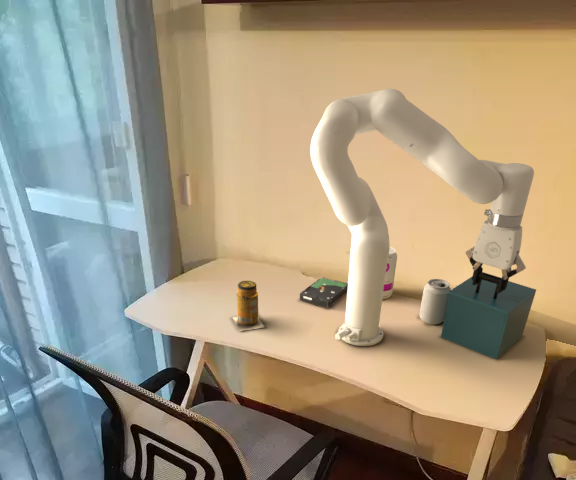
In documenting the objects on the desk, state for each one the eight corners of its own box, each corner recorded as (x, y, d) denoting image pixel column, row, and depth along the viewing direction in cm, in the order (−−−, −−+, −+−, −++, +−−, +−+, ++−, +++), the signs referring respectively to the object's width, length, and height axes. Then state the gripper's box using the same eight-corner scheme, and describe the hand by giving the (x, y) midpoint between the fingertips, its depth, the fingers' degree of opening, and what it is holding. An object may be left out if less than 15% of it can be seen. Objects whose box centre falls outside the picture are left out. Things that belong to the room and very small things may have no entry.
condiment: (256, 314, 162) (255, 277, 155) (264, 327, 156) (264, 289, 149) (232, 318, 160) (230, 280, 153) (240, 331, 154) (238, 293, 147)
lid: (508, 314, 135) (514, 290, 131) (448, 293, 144) (453, 270, 140) (535, 292, 146) (542, 269, 142) (478, 274, 155) (483, 252, 151)
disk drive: (328, 309, 166) (349, 290, 176) (329, 301, 164) (349, 283, 174) (299, 301, 170) (320, 283, 180) (299, 293, 168) (321, 275, 179)
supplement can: (385, 302, 170) (391, 257, 161) (361, 296, 173) (366, 251, 165) (395, 293, 175) (402, 248, 167) (372, 286, 179) (377, 243, 170)
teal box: (496, 359, 144) (509, 313, 136) (440, 337, 153) (449, 293, 145) (522, 336, 154) (535, 292, 146) (468, 317, 163) (478, 274, 155)
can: (444, 327, 158) (452, 289, 151) (418, 324, 159) (425, 287, 152) (444, 315, 164) (451, 278, 157) (418, 312, 165) (425, 276, 158)
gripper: (464, 214, 133) (450, 282, 143) (534, 231, 123) (513, 302, 134) (478, 207, 137) (464, 273, 148) (546, 223, 128) (526, 293, 138)
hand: (488, 286), depth 141 cm, fingers closed on lid, 6 cm apart
